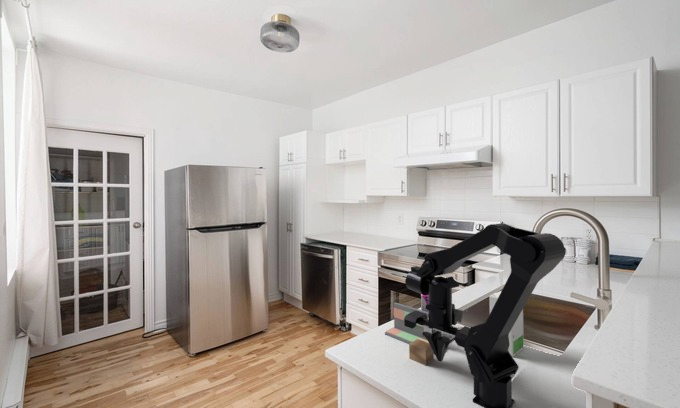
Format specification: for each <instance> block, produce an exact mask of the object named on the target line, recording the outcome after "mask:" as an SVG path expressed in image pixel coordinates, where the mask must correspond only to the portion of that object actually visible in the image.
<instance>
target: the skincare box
mask: <svg viewBox="0 0 680 408" xmlns="http://www.w3.org/2000/svg"><path fill="white" fill-rule="evenodd" d="M501 291H502V290H500V291H498V292H494V293H493V294H490V295H489V314H490V313H491V311H492V309H493V307H494V305H495V303H496V301H497V299H498V297H499V295H500V293H501ZM508 337H509V344H510V345H509V348H508V351H509V353H510V354H511V356H512V357H513V358H514V357H515V356H516V355H517V354H518V353H520V352H521V351H522V350H523V349H524V348H525V347H524V345H525V344H524V309H523V310H522V311H521V313H520V315H519V317H518V318H517V320H516V322H515V324H514V325H513V327H512V329H511V331H510V333H509V335H508Z"/></svg>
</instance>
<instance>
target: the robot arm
mask: <svg viewBox="0 0 680 408" xmlns="http://www.w3.org/2000/svg"><path fill="white" fill-rule="evenodd" d="M495 247H496V248H498V249H499V250H500V251H501V252H502V253H504V254H506V255H508V256H510V258H509V263H510V273H509V276H508V278H507V280H506V282H505V283H504V286H503V287H502V289H501V290H500V291H501V293H500V295H499V297H498V299H497V301H496V303H495V305H494V307H493V309H492V311H491V313H490V312H489V315H488V317H487V318H486V321H485V322H482V323H479V324H476V325H473V326H471V327H469V326H466V325H464V326H463V327H461V328H460V329H458V327H455V325H457V324H458V323H462V321H463V320H462V319H463V314H464V310H462V309H459V308H456V305H455V304H454V303H453V289H454V288H458V287H460V283H459V282H458V281H457V280H456V279H455V278H454V276H451V275H450V276H447V277H444V276H442V275H448V274H453V273H455V271H457V270H459V268H461V267H462V265H463V263H465V262H466V261H468V260H470V259H471V258H474V257H476V256H478V255H480V254H482V253H484V252H486V251H489V250H491V249H493V248H495ZM566 252H567V249H566V247H565V246H564V243H563V241H562V239H561V238H560V237H558V236H557V235H555V234H552V233H544V232H543V233H538V232H535V231H532V230H527V229H523V228H518V227H515V226H512V225H509V224H506V223H493V224H488V225H486V226H485V227H484V228H482V229H481V230H480V231H477V232H476V233H474V234H473V235H470V236H469V237H467V238H465V239H463V240H461V241H460V242H458V243H456V244H454V245H453V246H451V247H449V248H445V249H440V250H437V251H433V252H429V253H426V255H425V256H424V258H423V259H424V260H423V262H422V264H421V266H419V265H418V266H417V265H416V266H411V267H410V271H409V272H408V273H407V274H406V277H405V281H404V283H405V284H404V285H405V286H406V288H407V289H408V290H411V291H413V292H415V293H417V294H420V295H421V294H422V295H428V303H429V304H427V305H426V309H427V310H429V320H428V316H427V315H426V314H425V313H422V312H419V311H416V310H415V311H413V312H411V313H409V314H407V315H406V316H405V317H404V326H406V327H409V328H412V329H413V328H415V327H416V323H417V324H419V325H422V326H423V327H424V332H423V333H422V335H423V336H425V337H426V339H427V341H428V342H429V344H430V346H431V348H432V349H433V352H434V354H435V355H434V357H436V360H437V361H438V362H442V361H444V358H445V356H446V352H447V350H448V348H449V346H450V344H451V343H453V342H454V343H456V345H457V346H458V347H461V348H463V351H465V356H466V357H465V358H466V360H467V364H468V368H469V371H470V374H471V376H473V395H474V397H473V398H472V402H473V404H476V405H478V406H480V407H482V408H512V407H513V405H514V404H515V402H516V401H515V399H514V398H512V397H513V395H512V394H513V393H512V392H513V390H512V389H513V388H512V387H513V385H512V384H513V382H512V381H513V379H512V378H513V377H512V376H513V375H516V374H517V372H518V370H519V365H518V363H517V362H516V360H515V359H514V357H512V356H511V354H510V353H509V351H508V348H509V345H510V344H509V337H508V335H509V333H510V331H511V329H512V327H513V325H514V324H515V322H516V320H517V318H518V317H519V315H520V313H521V311H522V310H523V311H524V308H525V306H526V305H527V303H528V301H529V299H530V297H531V296H532V293H533V292H534V290H535V288H536V287H537V285H538V283H539V282H540V281H541V280H542V279H544V278H545V276H547V275H549V274H550V273H551V272H552V271H553V270H554V269H555V268H556V267H557V266H558V265H559V264H560V263H561V262H562V260H564V258H565V256H566ZM457 322H458V323H457Z"/></svg>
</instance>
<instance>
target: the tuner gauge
mask: <svg viewBox="0 0 680 408" xmlns="http://www.w3.org/2000/svg"><path fill="white" fill-rule="evenodd" d="M415 310H416V311H419V312H422V313H425V314H426V315H427V316H428V320H429V312H426V311H422V310H421V309H419V308H415V307H412V306H409V305H406V304H402V303H398V302H394V303H393V319H394V321H393V322H394V324H393V326H394V327H391V328H389V329H387V330H386V331H385V332H384V335H385V336H388V337H390V338H391V339H395V340H398V341H400V342H402V343H405V344H407V345H409V344H410V343H411V342H413V341H415V340H416V339H419V340H422V341H424V342H427V343H429V342H428V341H427V339H426V337H425V336H423V335H422V333H423V332H424V327H423V326H422V325H419V324H417V323H416V327H415V328H413V329H412V328H409V327H406V326H404V317H405V316H406V315H407V314H409V313H411V312H413V311H415ZM434 356H435V354H434Z"/></svg>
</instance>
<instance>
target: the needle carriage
mask: <svg viewBox="0 0 680 408" xmlns="http://www.w3.org/2000/svg"><path fill="white" fill-rule="evenodd" d="M408 345H409V346H408V349H409V350H408V351H409V352H408V353H409V356H408V357H409V359H410V360H412V361H414V362H417V363H419V364H421V365H424V366H427V365H428V364H430V363H431V362H432V361H434V359H435V358H434V357H435V355H434V352H433V349H432V348H431V346H430V344H429V343H427V342H424V341H422V340H419V339H416V340H415V341H413V342H411V343H410V344H408Z"/></svg>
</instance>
